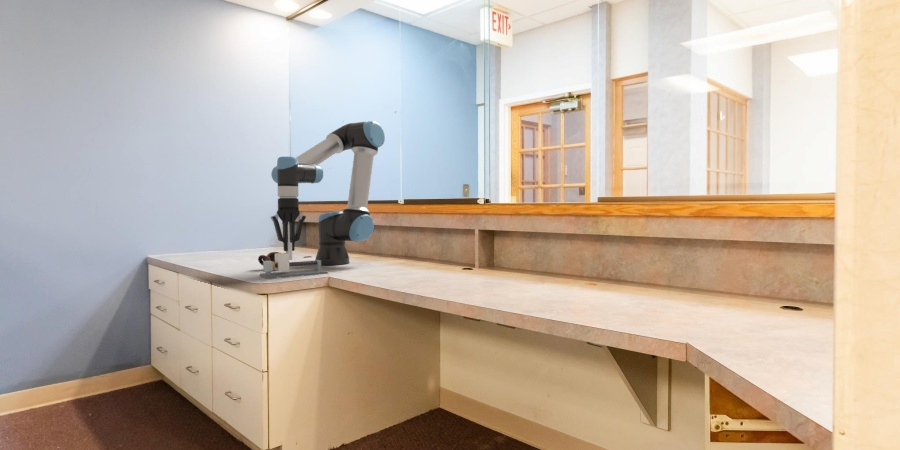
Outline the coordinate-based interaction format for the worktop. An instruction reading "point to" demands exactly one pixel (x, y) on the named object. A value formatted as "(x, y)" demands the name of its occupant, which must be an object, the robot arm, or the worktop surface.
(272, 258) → the pottery mug
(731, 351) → the worktop surface
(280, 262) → the sleeve
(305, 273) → the cord jig
